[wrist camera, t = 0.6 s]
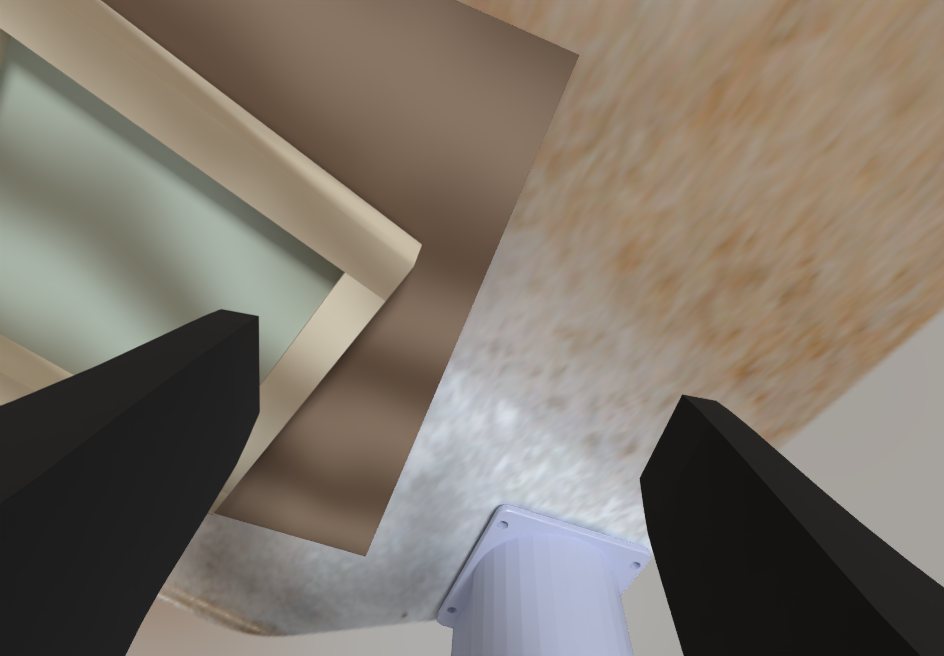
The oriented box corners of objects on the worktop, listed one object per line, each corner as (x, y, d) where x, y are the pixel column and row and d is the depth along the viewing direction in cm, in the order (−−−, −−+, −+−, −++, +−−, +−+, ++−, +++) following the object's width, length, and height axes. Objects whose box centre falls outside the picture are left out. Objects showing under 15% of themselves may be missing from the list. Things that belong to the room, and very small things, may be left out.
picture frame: (222, 493, 24) (200, 529, 22) (-115, 312, 20) (-174, 338, 18) (422, 244, 18) (413, 266, 16) (-4, -80, 14) (-78, -98, 12)
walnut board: (370, 536, 27) (365, 556, 25) (-151, 383, 23) (-181, 399, 22) (573, 54, 16) (579, 55, 15) (-320, -341, 13) (-394, -376, 12)
